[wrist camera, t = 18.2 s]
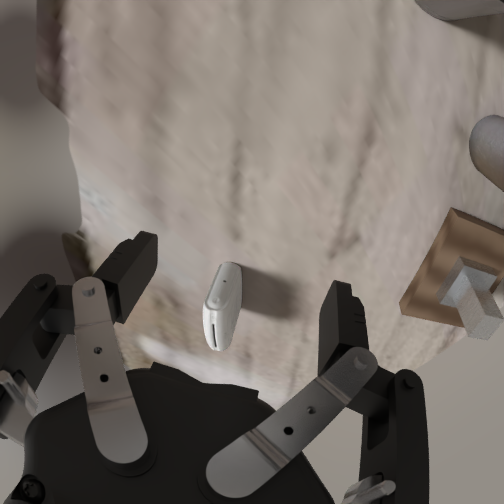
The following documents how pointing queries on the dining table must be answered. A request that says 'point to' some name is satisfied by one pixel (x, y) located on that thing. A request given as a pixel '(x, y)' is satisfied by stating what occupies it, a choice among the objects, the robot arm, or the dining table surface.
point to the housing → (472, 297)
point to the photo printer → (223, 306)
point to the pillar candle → (489, 148)
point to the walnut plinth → (442, 260)
